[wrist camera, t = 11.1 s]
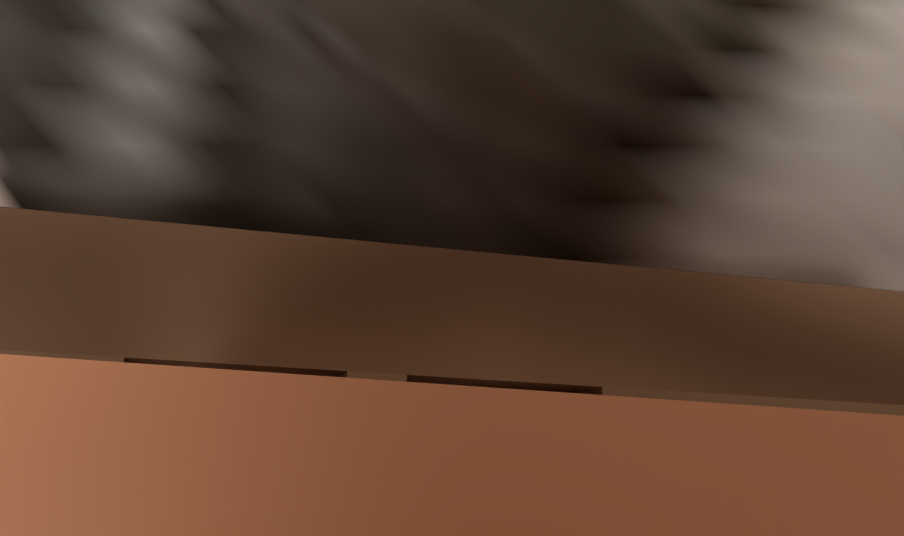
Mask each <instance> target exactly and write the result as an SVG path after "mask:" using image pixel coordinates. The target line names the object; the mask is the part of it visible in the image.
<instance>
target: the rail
mask: <svg viewBox="0 0 904 536" xmlns="http://www.w3.org/2000/svg"><path fill="white" fill-rule="evenodd" d="M0 354H9V355H23V356H38V357H53V358H67V359H82V360H96V361H111V362H126V363H140V364H155V365H170V366H184V367H199V368H214V369H228V370H243V371H258V372H272V373H287V374H302V375H316V376H331V377H345V378H360V379H375V380H389V381H404V382H419V383H433V384H448V385H463V386H477V387H492V388H507V389H521V390H536V391H550V392H565V393H580V394H594V395H609V396H624V397H638V398H653V399H668V400H682V401H697V402H712V403H726V404H741V405H756V406H770V407H785V408H799V409H814V410H829V411H843V412H858V413H873V414H887V415H902V416H904V292H902V291H891V290H881V289H870V288H860V287H849V286H838V285H828V284H817V283H806V282H796V281H785V280H775V279H764V278H753V277H743V276H732V275H721V274H711V273H700V272H689V271H679V270H668V269H658V268H647V267H636V266H626V265H615V264H604V263H594V262H583V261H572V260H562V259H551V258H541V257H530V256H519V255H509V254H498V253H487V252H477V251H466V250H455V249H445V248H434V247H424V246H413V245H402V244H392V243H381V242H370V241H360V240H349V239H339V238H328V237H317V236H307V235H296V234H285V233H275V232H264V231H253V230H243V229H232V228H222V227H211V226H200V225H190V224H179V223H168V222H158V221H147V220H136V219H126V218H115V217H105V216H94V215H83V214H73V213H62V212H51V211H41V210H30V209H19V208H9V207H0Z"/></svg>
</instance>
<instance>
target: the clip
mask: <svg viewBox="0 0 904 536" xmlns="http://www.w3.org/2000/svg"><path fill="white" fill-rule="evenodd" d="M0 536H904V416H902V415H887V414H873V413H858V412H843V411H829V410H814V409H799V408H785V407H770V406H756V405H741V404H726V403H712V402H697V401H682V400H668V399H653V398H638V397H624V396H609V395H594V394H580V393H565V392H550V391H536V390H521V389H507V388H492V387H477V386H463V385H448V384H433V383H419V382H404V381H389V380H375V379H360V378H345V377H331V376H316V375H302V374H287V373H272V372H258V371H243V370H228V369H214V368H199V367H184V366H170V365H155V364H140V363H126V362H111V361H96V360H82V359H67V358H53V357H38V356H23V355H9V354H0Z"/></svg>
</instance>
